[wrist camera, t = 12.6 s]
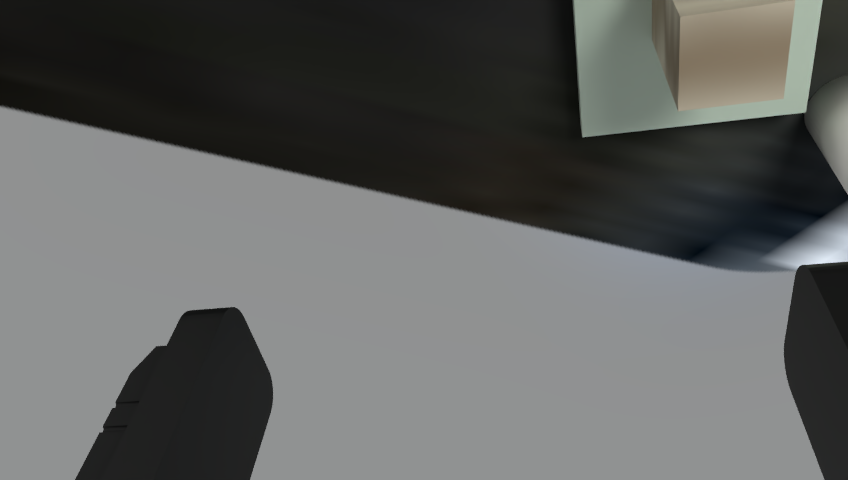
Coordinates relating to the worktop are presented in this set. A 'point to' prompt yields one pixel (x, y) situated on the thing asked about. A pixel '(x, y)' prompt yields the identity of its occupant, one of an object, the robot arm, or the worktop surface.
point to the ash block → (723, 50)
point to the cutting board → (644, 77)
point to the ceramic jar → (831, 125)
